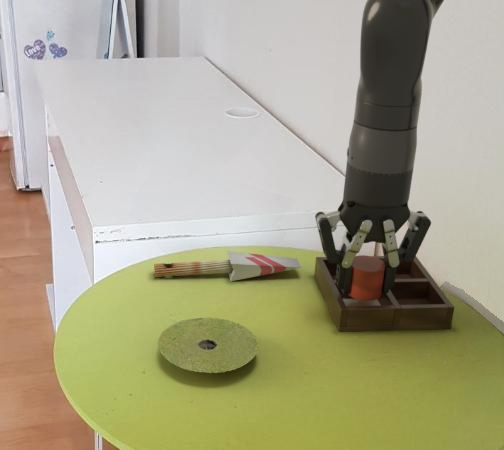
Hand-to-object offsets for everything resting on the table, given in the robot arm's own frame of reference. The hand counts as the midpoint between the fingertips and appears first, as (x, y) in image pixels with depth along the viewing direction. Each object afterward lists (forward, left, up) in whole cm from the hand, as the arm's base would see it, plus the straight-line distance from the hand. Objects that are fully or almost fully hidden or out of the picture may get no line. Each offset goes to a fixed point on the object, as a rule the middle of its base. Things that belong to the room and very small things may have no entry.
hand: (363, 289), depth 93 cm
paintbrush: (+16, -11, -4) cm, 20 cm away
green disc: (+20, +8, -4) cm, 22 cm away
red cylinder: (0, 0, 0) cm, 0 cm away
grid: (-3, -3, -4) cm, 6 cm away
